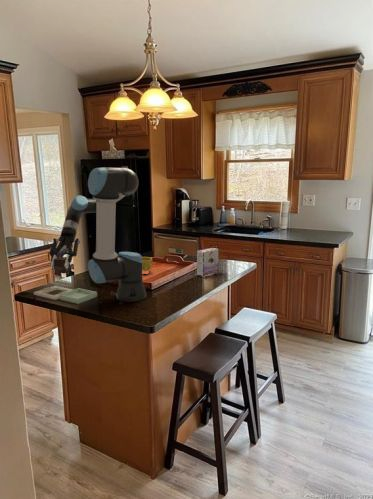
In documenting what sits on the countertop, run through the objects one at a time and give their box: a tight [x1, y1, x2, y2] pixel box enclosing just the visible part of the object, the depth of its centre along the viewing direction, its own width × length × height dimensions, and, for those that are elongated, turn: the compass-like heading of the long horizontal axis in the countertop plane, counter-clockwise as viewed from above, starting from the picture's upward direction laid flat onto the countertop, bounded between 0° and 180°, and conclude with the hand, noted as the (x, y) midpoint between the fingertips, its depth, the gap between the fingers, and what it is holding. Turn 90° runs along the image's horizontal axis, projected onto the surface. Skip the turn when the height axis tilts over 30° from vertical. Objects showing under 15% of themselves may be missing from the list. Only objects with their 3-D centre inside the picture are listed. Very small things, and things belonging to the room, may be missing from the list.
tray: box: [58, 287, 98, 305], centre depth 190 cm, size 13×13×2 cm
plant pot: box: [142, 256, 153, 270], centre depth 236 cm, size 10×10×10 cm
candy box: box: [196, 247, 220, 276], centre depth 231 cm, size 14×6×16 cm, turn 133°
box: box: [53, 256, 71, 274], centre depth 192 cm, size 6×6×7 cm
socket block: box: [33, 285, 74, 300], centre depth 197 cm, size 16×14×2 cm
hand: (59, 267), depth 189 cm, fingers closed on box, 6 cm apart
